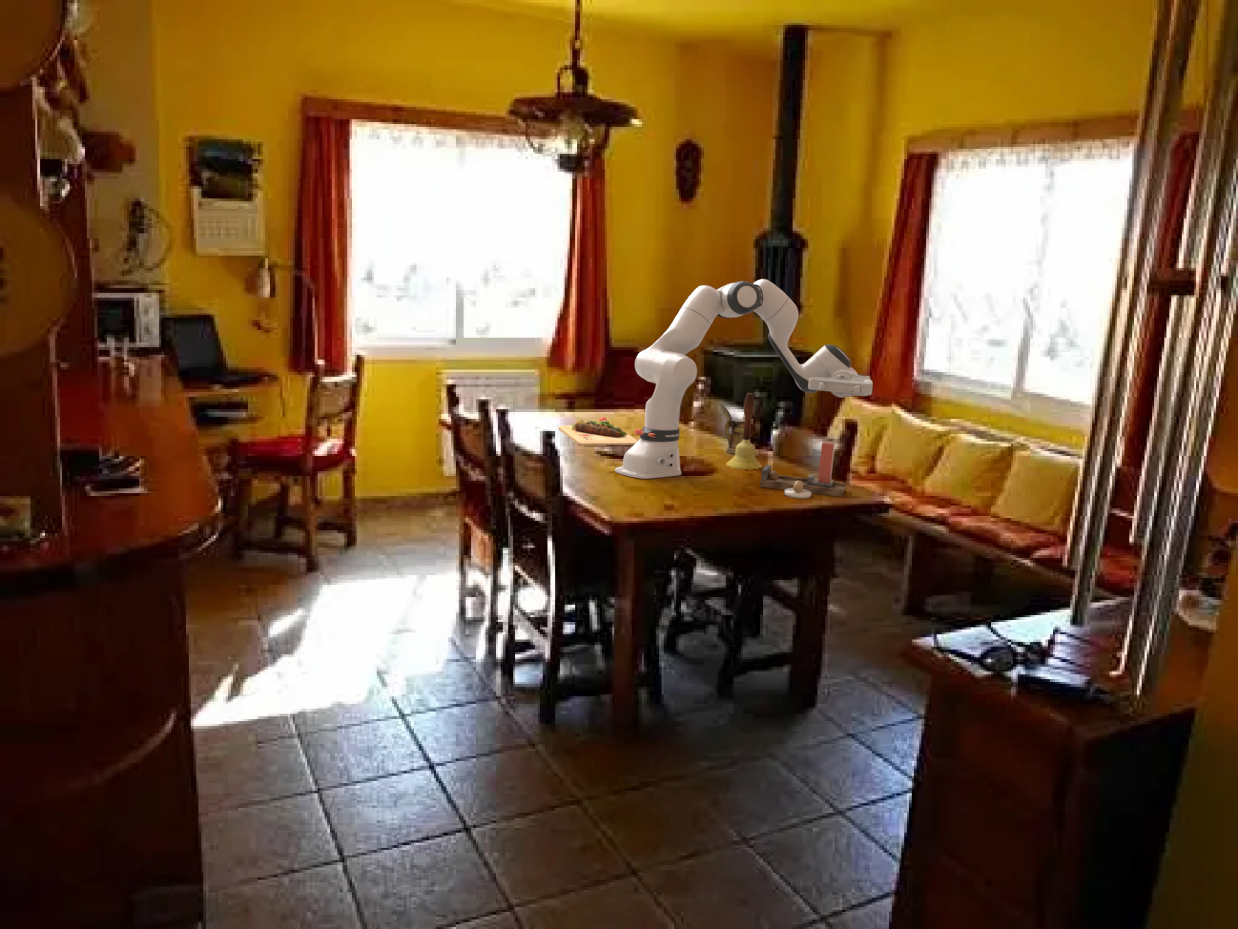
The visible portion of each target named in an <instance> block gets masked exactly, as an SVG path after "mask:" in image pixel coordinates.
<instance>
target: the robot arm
mask: <svg viewBox="0 0 1238 929" xmlns="http://www.w3.org/2000/svg"><path fill="white" fill-rule="evenodd" d="M752 312H754V313H756V314H757V315H758V316H759V317H760V318H761V319H762V321H764V322H765V324H766V325H767V328H768V331H769V332H768V335H767V338H768V340H769V342H770V344H771V346H772V348H773V350H774V351H775V353H776V354H777V356H778V357H779V358H780V359H781V361H782V362H783V364H784V366H785V367H786V368H787V370H788V371H789V373H790V374H791V376H792V378H793V379H794V381H795V384H796V385H797V387H798V388H799V389H800V390H801V391H803V392H804V393H807V394H810V393H811V394H812V393H817V392H818V391H824V392H831V394H832V395H834V397H838V398H847V397H848V398H850V397H859V396H860V397H867V396H871V395H872V394H873V385H874V384H873V380H872V379H871V376H870V375H865V374H860V373H858V372H857V371H856V370H855V369H854V368H853V367H852V363H851V362H852V361H851V359H850V357H849V356H848V355H847V354H846V353H845V351H844V350H842V348H840V347H839V346H837V345H834V344H824V345H823V346H822V347H821V348H819V350H818V351H816V352H814V355H812V356H811V357H810V358H809V359H808V360H807V361H805V362H804V363H802V364H801V363H799V362H798V360H797V359H796V357H795V355H794V354H793V353H792V351H791V350H790V348H789V346H788V343H789V340H790V337H791V335H792V333H793V332H794V330H795V327H796V326H797V323H798V319H799V310H798V307H797V305H796V304H795V303H794V302H793V300H792V299H791V298H790V296H788V295H787V294H786V293H785V292H784V291H783V290H782V289H781V288H780V287H778V286H777V285H776V284H775V283H773V282H771V281H770V280H768V279H765V278H761V279H758V280H756V281H753V283H752V282H749V281H745V280H741V281H740V280H739V281H735V282H730V283H727V284H726V285H723V286H721V287H718V288H714V287H712V286H710V285H707V284H706V285H699V286H698V287H697V288H695V289H694V291H692V292H691V294H690V295H689V296H688V297H687V299H686V300H685V302H684V303H683V305H681V307H680V309H679V311H678V313H677V315H675V317H674V319H673V321H672V322H671V324H670V326H669V327H668V328H667V329H666V331H665V332H663V334H662V335H661V336H660V337H659V338H658V339H657V340H656V341H654V343H652V345H650V346H649V347H647V348H645V349H644V350H642V351H640V352H639V353H638V354H637V356H636V358H635V360H634V368H635V369H634V370H635V371H636V374H637V375H638V376H639V377H640V378H642V379H643V380H645V381H646V382H649V383H652V384H655V388H654V390H653V391H654V392H653V394H652V396H651V397H650V398H649V399H648V400H647V401H646V403H645V410H644V425H643V427H642V429H639V428H634V429H635V430H634V434H635V435H637V436H639V439H638V441H637V442H636V443H635V444H634V445H633V446H630V448H629V449H628V450H627V451H626V452H625V453H624V454H623V455H624V456H623V459H622V466H617V467H615V469H614V471H615V473H617V474H619V475H623V476H627V477H632V478H637V479H645V480H647V479H657V478H665V477H675V476H676V477H678V476H681V475H682V470H681V466H680V464H681V463H680V448H679V440H680V436H681V435H680V428H679V425H680V424H679V422H680V414H681V412H680V411H681V406H682V401H683V398H684V396H685V393H686V391H687V389H688V388H689V387H690V386H691V385H692V384H693V383H694V382H695V380H696V378H697V375H698V368H697V365H696V362H695V361H694V360H693V359H692V358H690V357H689V356H687V354H688V353H690V352H691V351H693V350H694V349H696V348H697V347H699V346H700V344H701V343H702V341H703V339H704V337H705V336H706V333H707V332H708V330H709V329H710V327H711V325H712V324H713V322H714V320H715V319H716V317H719V318H723V319H731V318H739V317H742V316H745V315H749V314H750V313H752Z"/></svg>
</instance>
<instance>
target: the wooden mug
mask: <svg viewBox="0 0 1238 929" xmlns="http://www.w3.org/2000/svg"><path fill="white" fill-rule="evenodd" d="M719 409H720V411H721V413H722V414H723V416H724V417H725V418H726V421H725V424H724V427H723V429H724V430H723V432H724V434H725V437H726V439H727V442H728V446H727V448H726V452H727V454H730V455H734V454H735V451H736V446H737V445H738V444H739V443H741V442H742V441H743V435H744V423H745V421H742V420H741V421H739V420H738V421H737V420H732V419H733V418H732V415H731V412H730V411H729V410H728V409H727V408H726V407H725V406H724V405H723V404H720V405H719ZM729 431H730V432H729ZM751 432H752V431H751V427H750V433H751ZM749 440H750V441H751V438H750V439H749Z"/></svg>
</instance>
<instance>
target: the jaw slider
mask: <svg viewBox="0 0 1238 929" xmlns="http://www.w3.org/2000/svg"><path fill="white" fill-rule="evenodd" d="M835 444H836V442H829V441H822V443H821V448H820V460H819V470H818V477H815V476H816V475H815V473H814V474H813V473H809V474H808V476H807V477H806V478H807V485H812V486H820V487H828V488H832V487H833V485H834V482H835V480H834V479H832V473H833V464H834V457H835V455H834V454H835Z"/></svg>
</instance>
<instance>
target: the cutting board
mask: <svg viewBox="0 0 1238 929" xmlns="http://www.w3.org/2000/svg"><path fill="white" fill-rule="evenodd" d="M558 431H560V432H561V433H563V434H564V435H565V436H566V437H568V438H569V439H570V440H571V441H573V442H574V443H575V442H576V443H575V444H577V445H578V446H581V447H607V446H606V445H634V444H635V443H636V442H637V441H638V440H639V439H638V440H637V439H636V438H635V437H633V436H632V435H630V434H628V433H627V432H626V431H624V430H623V429H622V428H620V427H617V426H615V425H614V424H613V423H610V421H608V418H606V417H605V416H602V417H601V418H599V419H598V421H597V420H583V419H579V420H578V421H576V423H573V424H572V425H571V424H570V425H568V424H567V425H563V424H562V425H560V426H558Z"/></svg>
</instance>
